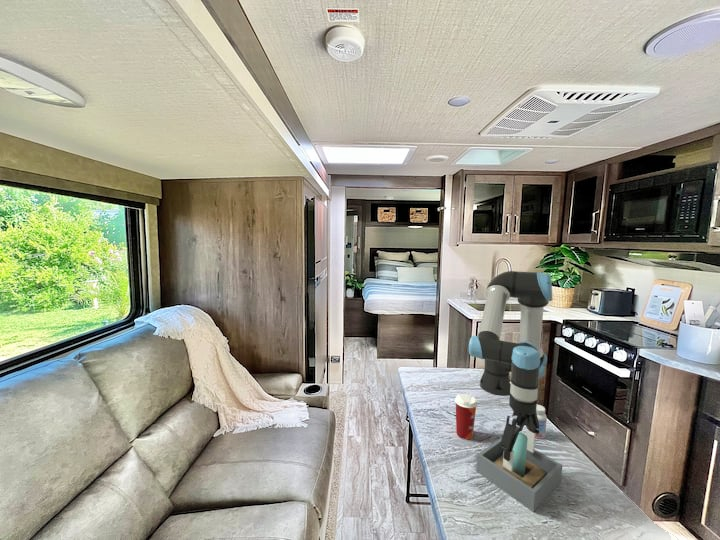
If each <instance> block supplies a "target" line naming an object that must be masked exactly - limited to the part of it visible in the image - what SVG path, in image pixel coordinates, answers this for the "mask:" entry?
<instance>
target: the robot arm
mask: <svg viewBox="0 0 720 540" xmlns="http://www.w3.org/2000/svg"><path fill="white" fill-rule="evenodd" d="M485 296H486V300H485V304H484V308H483V313H482V317H481V321H480V326H479V328H478V333H477V335H476V336H475V335H472V336H470V339H469V341H468V342H469V343H468V354H469V356H470V357H473V358H477V359H480V360H484V369H483V373H482V375H481V378H480V380H479V387H480V388H481V389H482V390H484V391H486V392H487V393H488V394H489V393H490V394H492V395H497V396H507V395H509V403H508V405H509V407H510V408H511V410H512V411H513V412H512V414H511V415H507V416H506V421H505V426H504V429H503V434H502V437H501V438H502V440H501V443H500V447H499V448H501V449H502V450H504V454H503V466H504V467H505V468H507V469H508V470H510V471H513V457H514V451H513V447H514V445H515V442H516V440H517V437H518V435H519V433H521V432H522V431H523V429H524V427H526V430H525V435H526V436H527V438H528V440H527V450H529V451H530V452H532V453H534V449H535V445H536V444H535V443H536V438H535V433H536V434H539V430H537V429H539V422H538V417H537V413H536V407H537V404H538V402H537V400H538V393H539V392H538V391H539V378H542V377H543V376H544V375H545V371H546V365H547V362H548V359H547V358H548V356H547V354H546V353H544V350H543V349H542V348H541V343H542V341H541V340H542V329H543V319H544V318H543V316H544V308H545V307H547V306H548V304H549V302H551V301H552V302H553V286H552V277H551V275H550V274H549V273H546V272H539V271H535V272H534V271H514V270H509V271H503V272H502V273H500V274H497V276H495V277H494V278H492V280H491V281H489V283H488V285H487V286H486V290H485ZM510 298H513V299H514V298H516V299H517V303H518V304H519V305H520V319H519V320H520V322H519V323H520V324H519V341H518V343H516V342H513V341H512V342H511V341H505V340H501V334H502V328H503V322H504V316H505V310H506V305H507V301H509V299H510ZM528 429H529V430H528Z"/></svg>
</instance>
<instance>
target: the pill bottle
mask: <svg viewBox="0 0 720 540" xmlns="http://www.w3.org/2000/svg"><path fill="white" fill-rule="evenodd" d="M536 413H537V417H538V422H539V429H537V430H539V434H536V433H535V439H540V440H541V439H544V438H545V437H546V431H547V421H548V420H547V419H548V418H547V415H546V408H545V406H543V405H540V404H538V403H537V407H536ZM527 430H529V429H527Z"/></svg>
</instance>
